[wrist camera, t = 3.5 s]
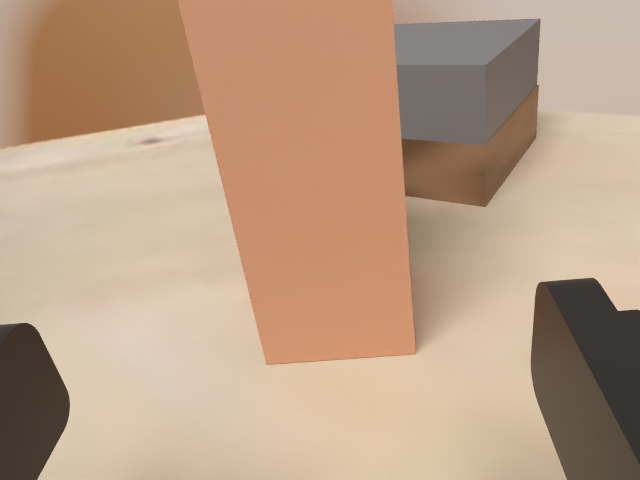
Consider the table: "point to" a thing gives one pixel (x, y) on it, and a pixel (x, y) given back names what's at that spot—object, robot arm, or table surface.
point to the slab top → (463, 77)
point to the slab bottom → (469, 161)
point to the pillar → (310, 169)
